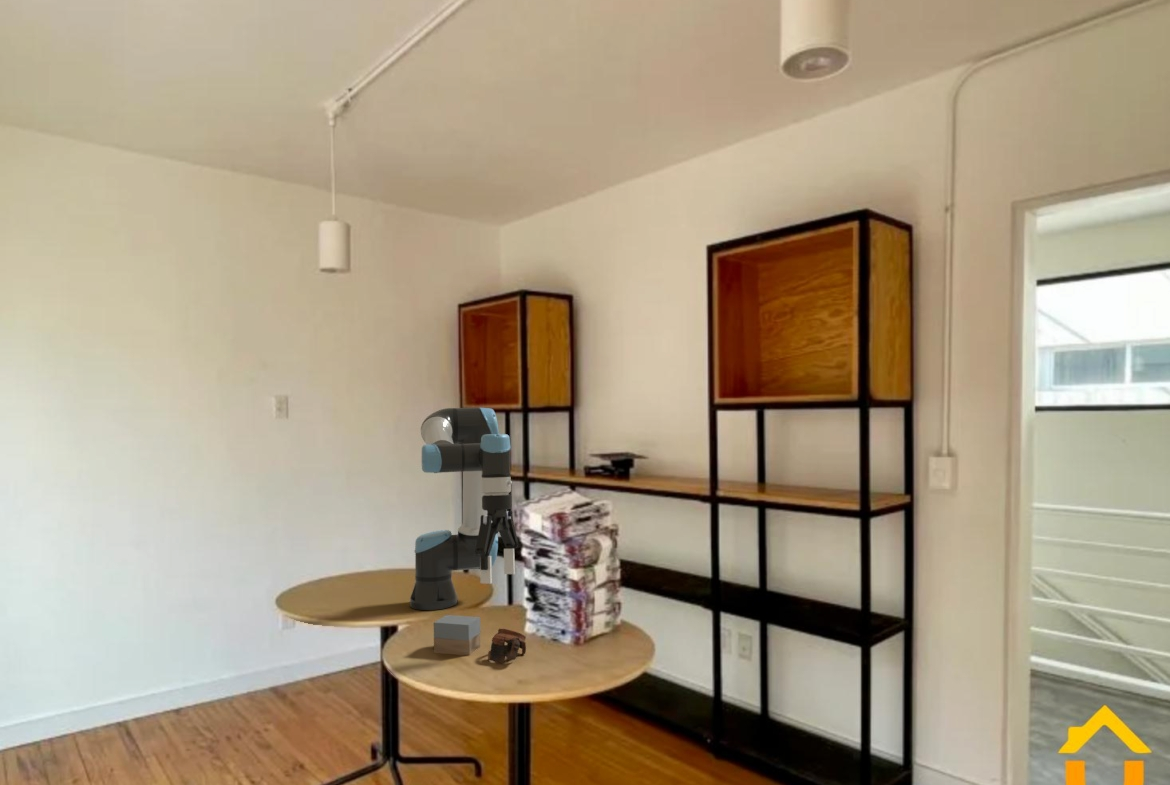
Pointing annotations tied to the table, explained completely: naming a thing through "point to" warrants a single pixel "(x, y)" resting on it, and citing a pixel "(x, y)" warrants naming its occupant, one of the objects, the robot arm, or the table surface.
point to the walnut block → (456, 646)
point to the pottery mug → (509, 650)
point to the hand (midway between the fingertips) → (498, 578)
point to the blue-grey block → (457, 627)
